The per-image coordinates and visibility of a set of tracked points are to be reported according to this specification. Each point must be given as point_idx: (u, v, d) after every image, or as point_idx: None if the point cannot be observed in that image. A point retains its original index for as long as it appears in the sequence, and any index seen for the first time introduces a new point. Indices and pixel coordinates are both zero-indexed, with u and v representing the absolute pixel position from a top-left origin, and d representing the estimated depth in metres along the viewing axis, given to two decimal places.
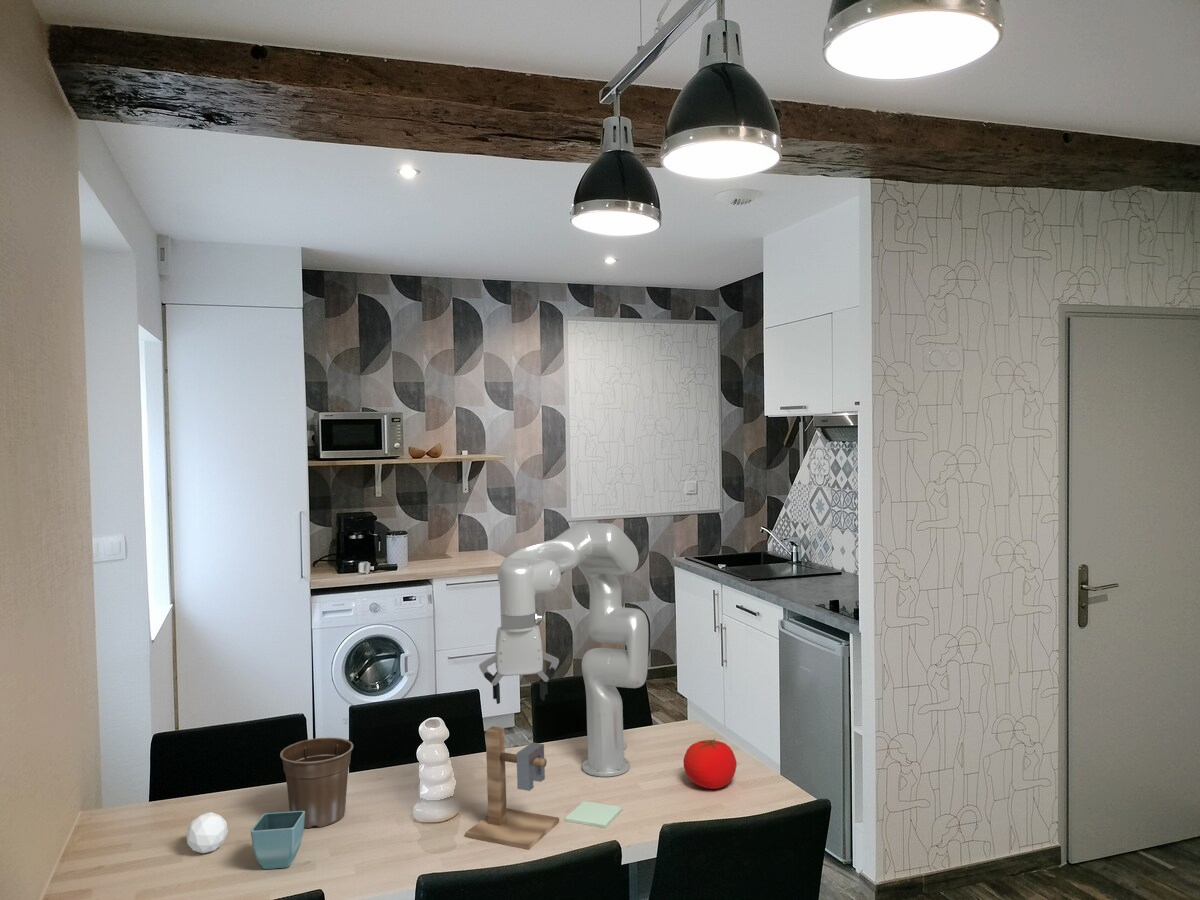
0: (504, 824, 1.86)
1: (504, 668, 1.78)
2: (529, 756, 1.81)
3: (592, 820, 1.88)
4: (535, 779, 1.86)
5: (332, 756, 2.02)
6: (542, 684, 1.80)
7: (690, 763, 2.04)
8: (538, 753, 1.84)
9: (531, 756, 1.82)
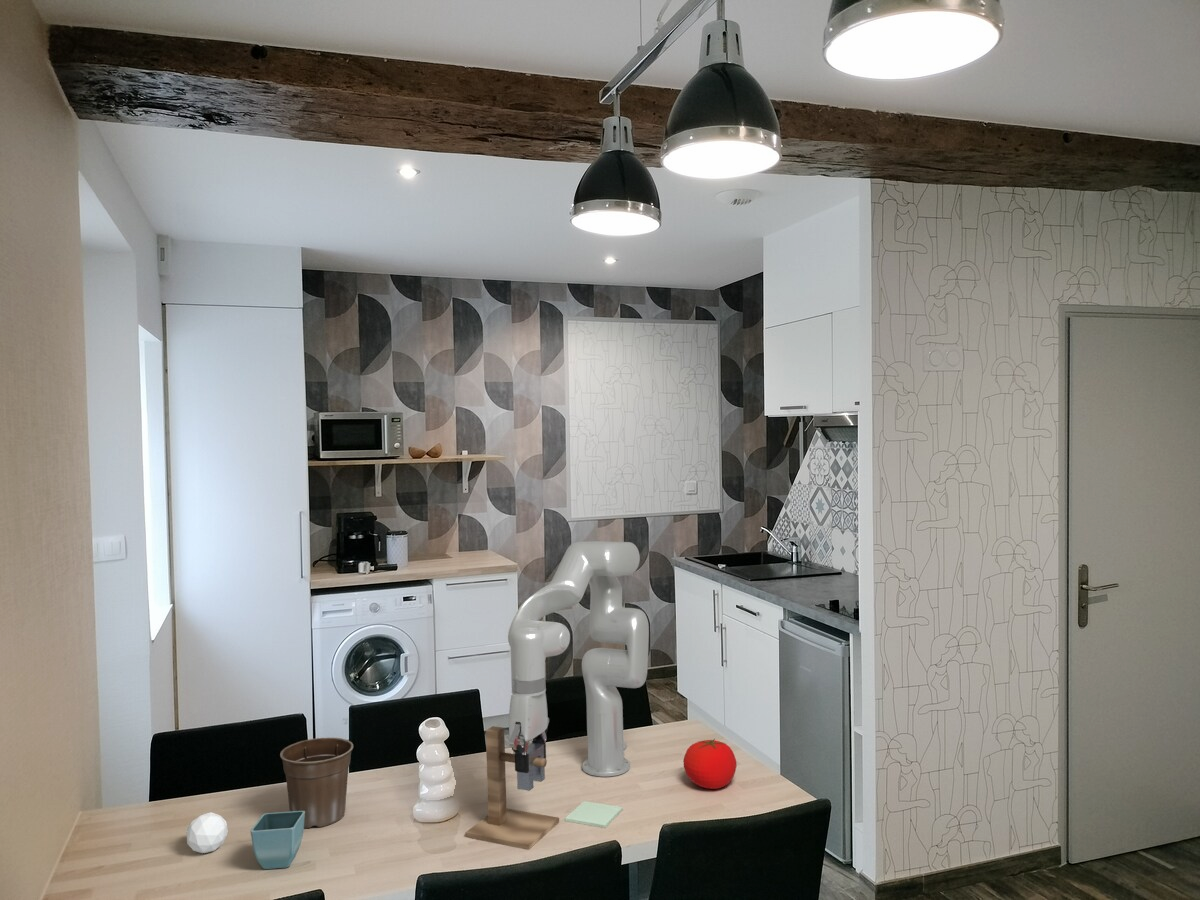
0: (504, 824, 1.86)
1: (530, 733, 1.80)
2: (529, 756, 1.81)
3: (592, 820, 1.88)
4: (535, 779, 1.86)
5: (332, 756, 2.02)
6: (544, 744, 1.87)
7: (690, 763, 2.04)
8: (538, 753, 1.84)
9: (531, 756, 1.82)
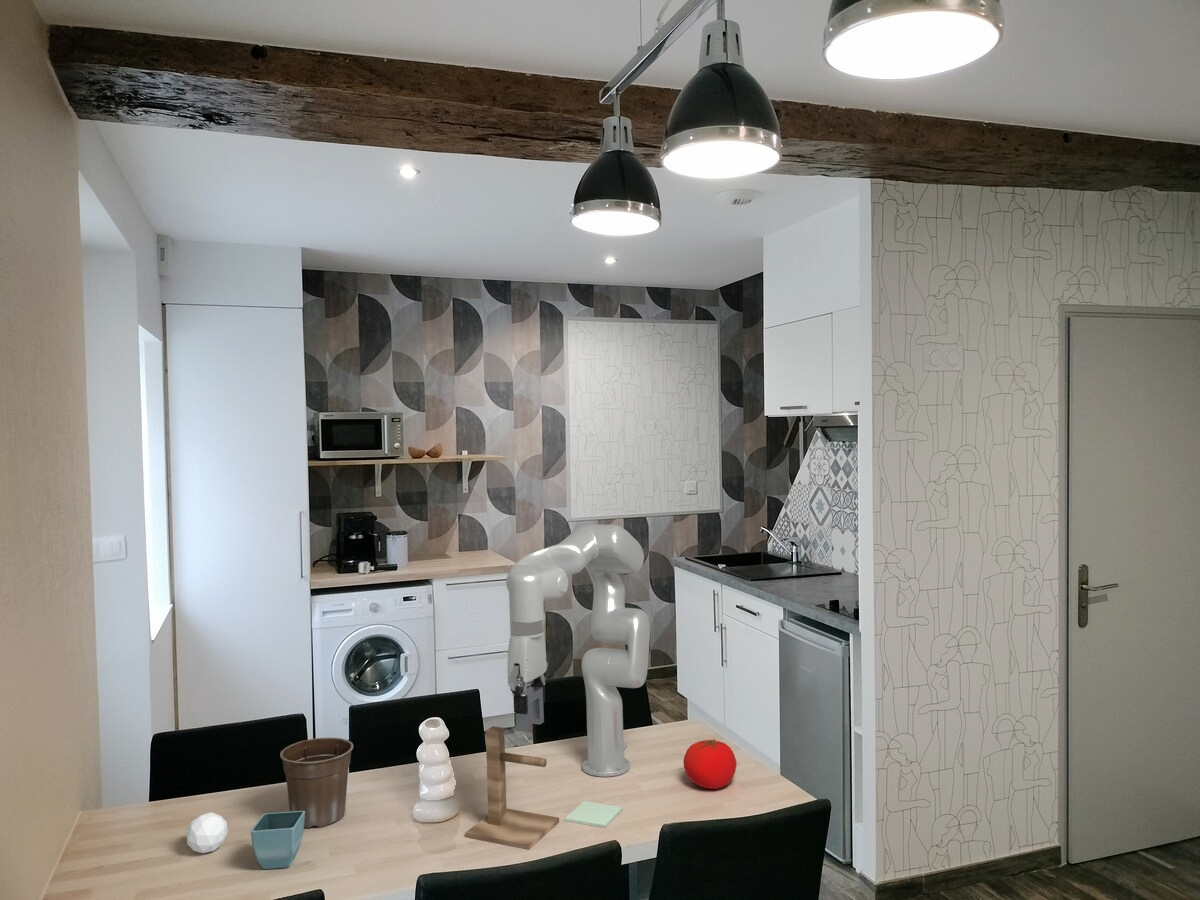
0: (504, 824, 1.86)
1: (529, 675, 1.80)
2: (528, 697, 1.81)
3: (592, 820, 1.88)
4: (534, 722, 1.86)
5: (332, 756, 2.02)
6: (543, 687, 1.87)
7: (690, 763, 2.04)
8: (536, 696, 1.84)
9: (530, 698, 1.82)
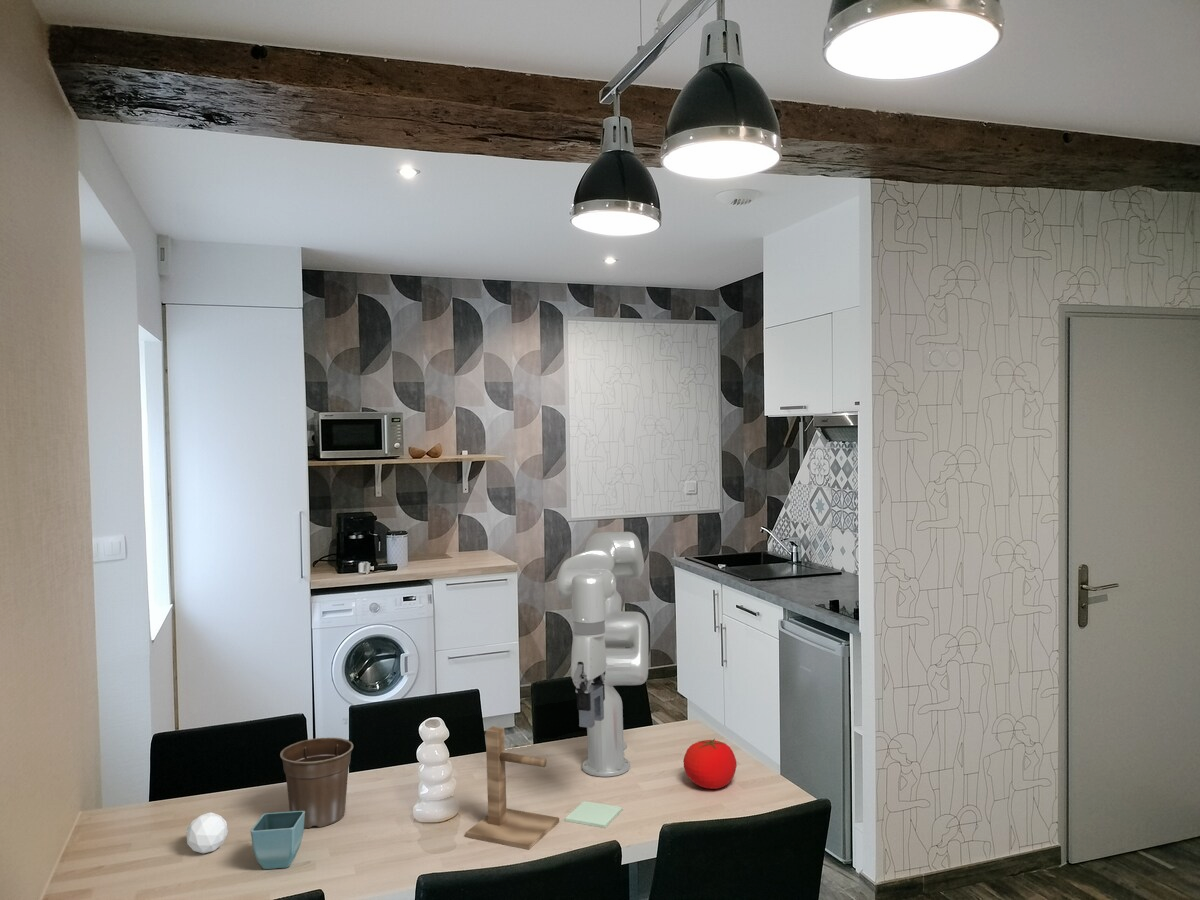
0: (504, 824, 1.86)
1: (592, 673, 1.88)
2: (591, 695, 1.89)
3: (592, 820, 1.88)
4: (595, 718, 1.94)
5: (332, 756, 2.02)
6: (603, 686, 1.95)
7: (690, 763, 2.04)
8: (598, 693, 1.92)
9: (592, 695, 1.90)
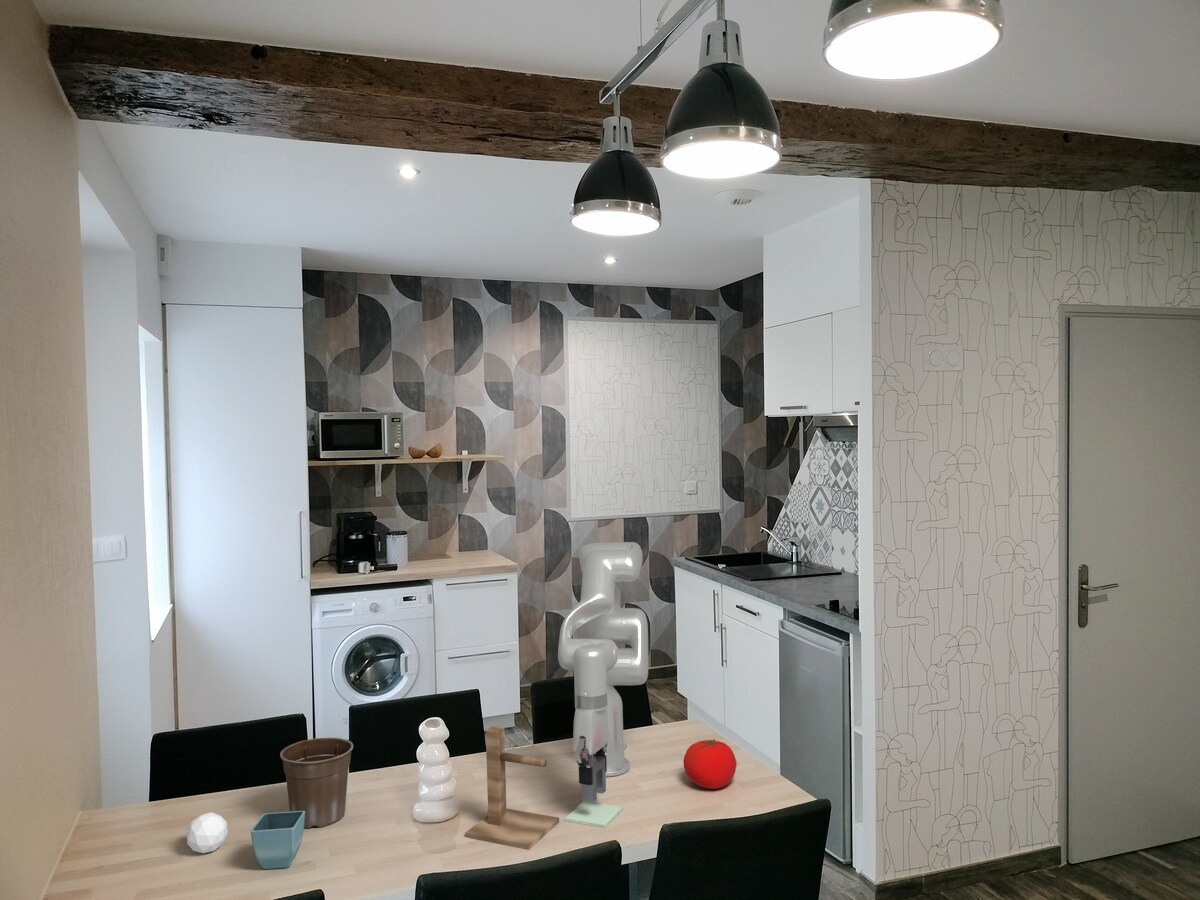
0: (504, 824, 1.86)
1: (594, 747, 1.88)
2: (593, 769, 1.89)
3: (592, 820, 1.88)
4: (597, 791, 1.93)
5: (332, 756, 2.02)
6: (605, 758, 1.95)
7: (690, 763, 2.04)
8: (600, 766, 1.92)
9: (594, 769, 1.89)
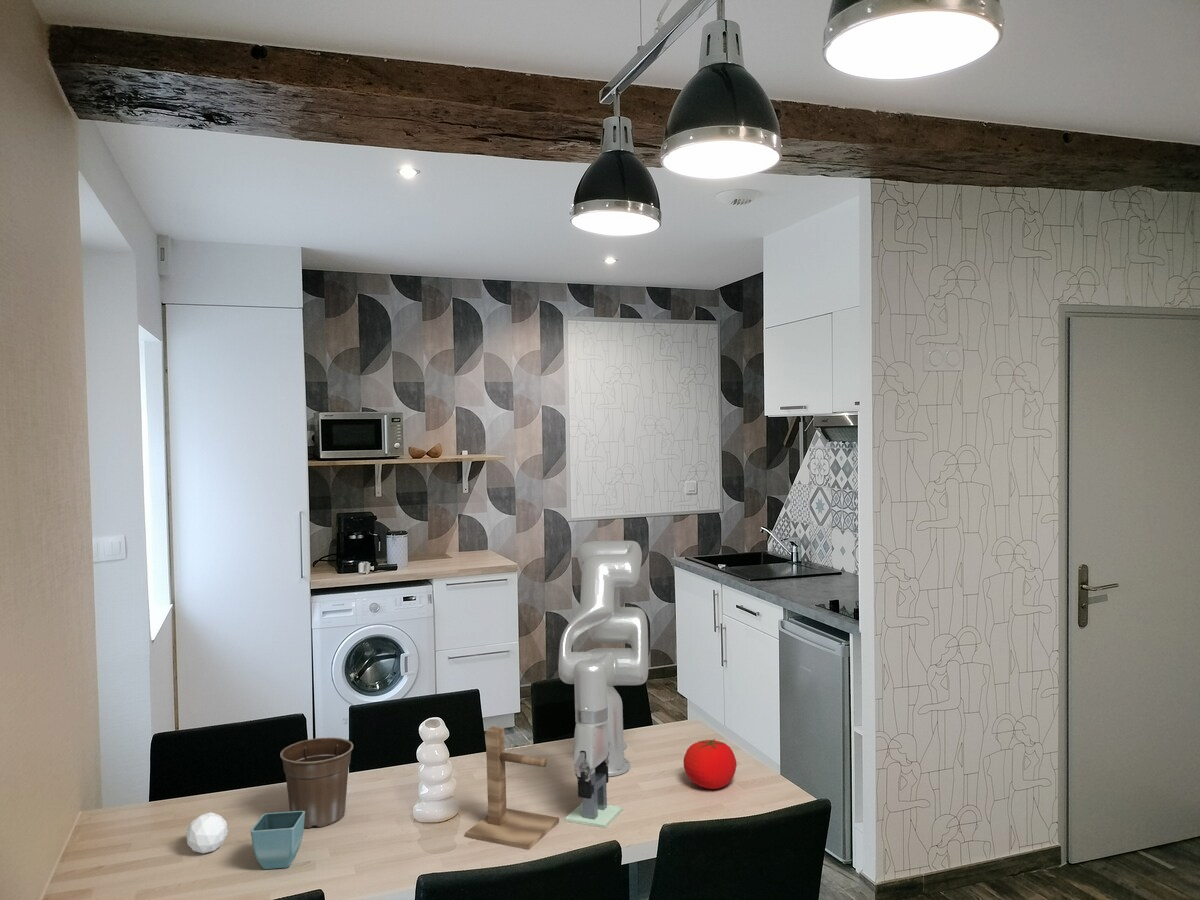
0: (504, 824, 1.86)
1: (595, 761, 1.88)
2: (594, 786, 1.89)
3: (592, 820, 1.88)
4: (598, 808, 1.94)
5: (332, 756, 2.02)
6: (607, 768, 1.96)
7: (690, 763, 2.04)
8: (601, 783, 1.92)
9: (596, 786, 1.90)
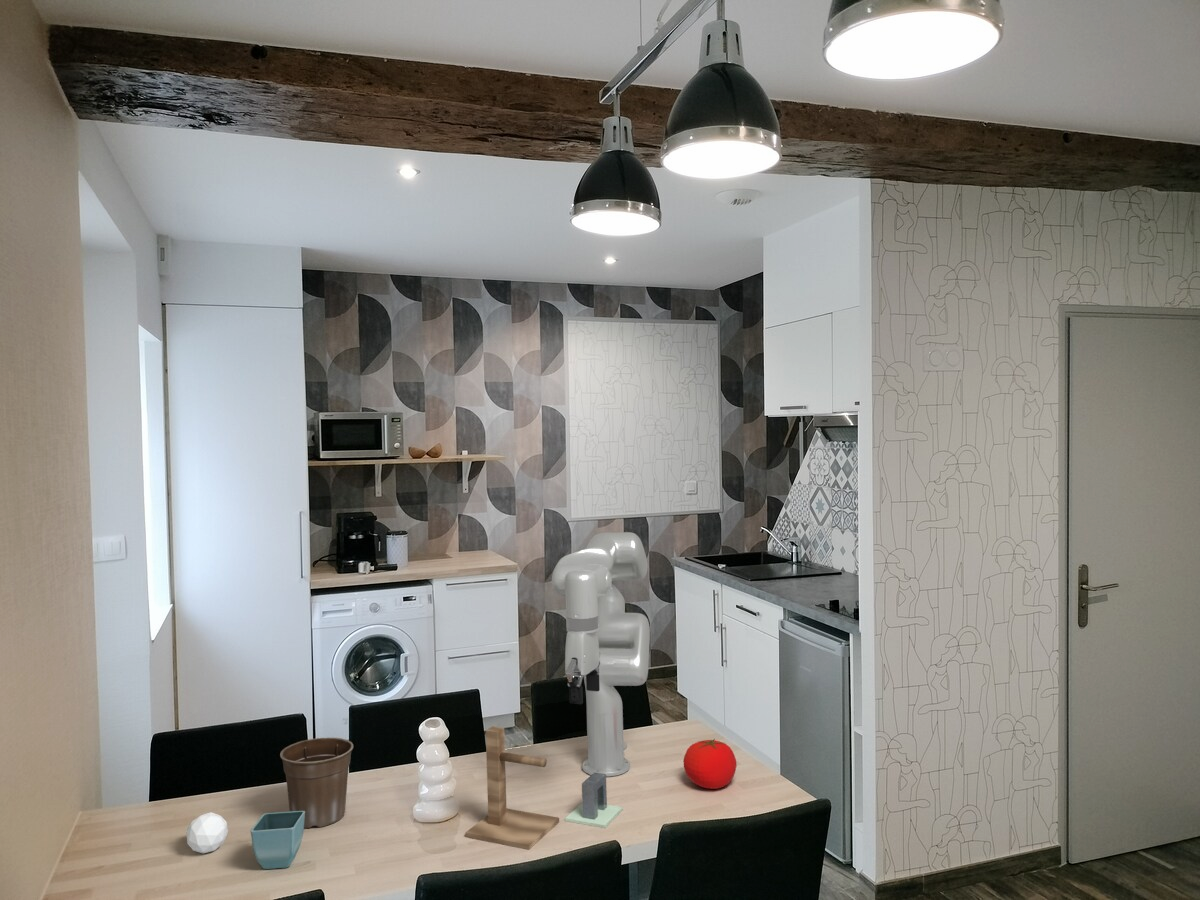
0: (504, 824, 1.86)
1: (586, 668, 1.90)
2: (594, 786, 1.89)
3: (592, 820, 1.88)
4: (598, 808, 1.94)
5: (332, 756, 2.02)
6: (598, 676, 1.98)
7: (690, 763, 2.04)
8: (601, 783, 1.92)
9: (596, 786, 1.90)
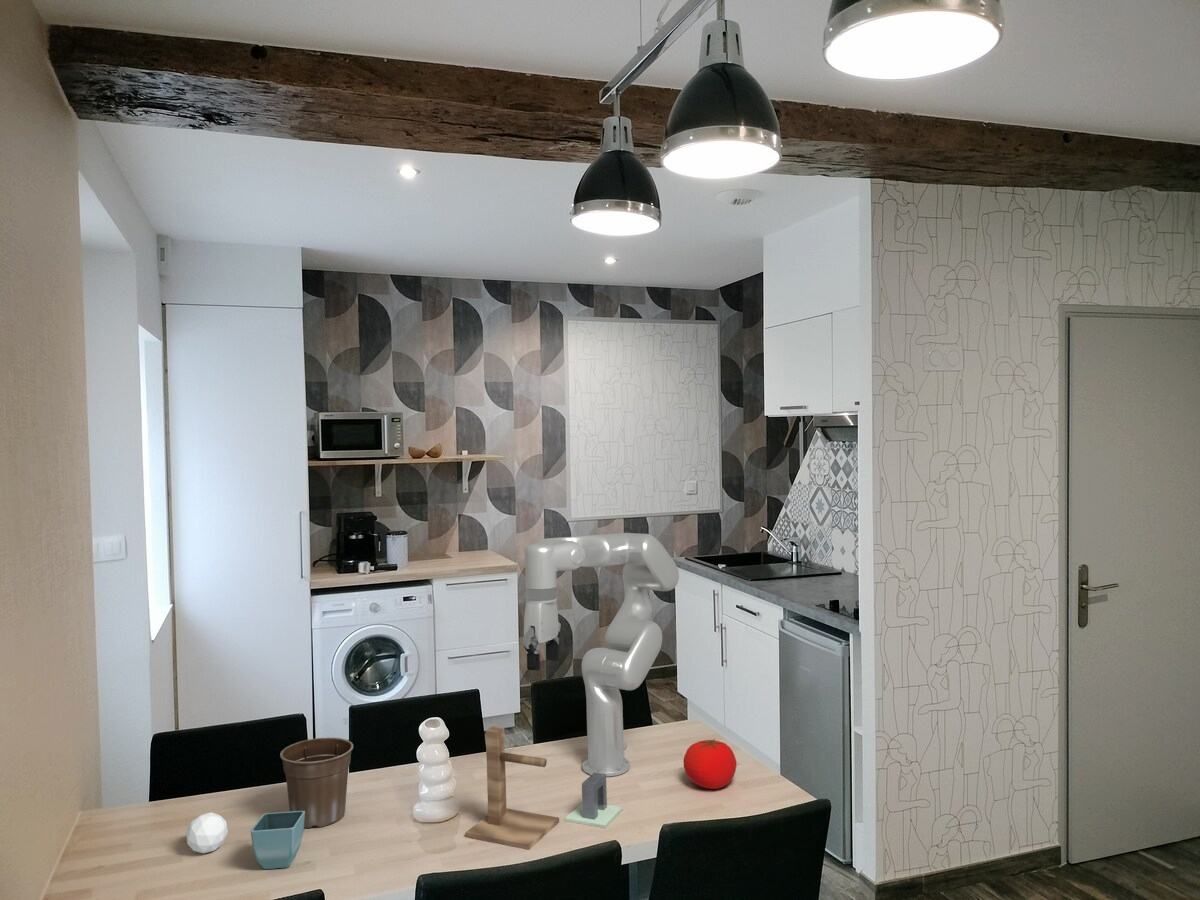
0: (504, 824, 1.86)
1: (543, 636, 1.99)
2: (594, 786, 1.89)
3: (592, 820, 1.88)
4: (598, 808, 1.94)
5: (332, 756, 2.02)
6: (557, 646, 2.07)
7: (690, 763, 2.04)
8: (601, 783, 1.92)
9: (596, 786, 1.90)
